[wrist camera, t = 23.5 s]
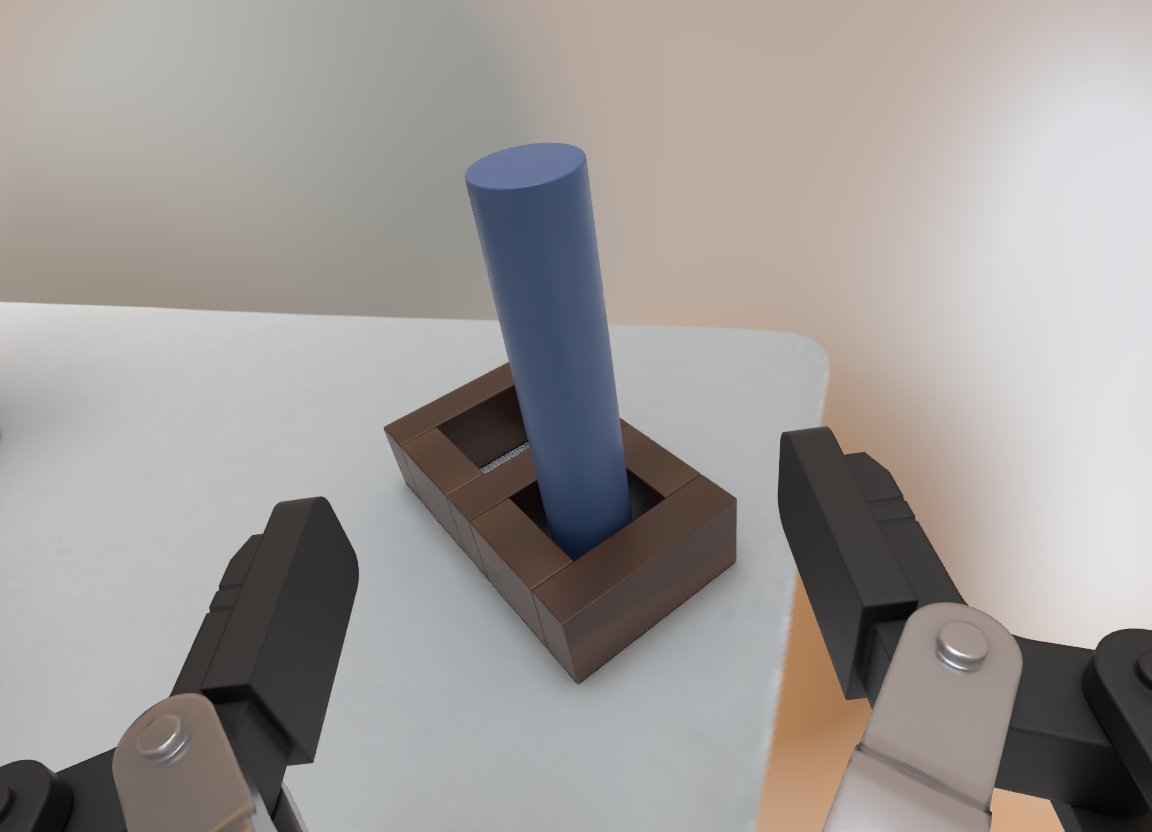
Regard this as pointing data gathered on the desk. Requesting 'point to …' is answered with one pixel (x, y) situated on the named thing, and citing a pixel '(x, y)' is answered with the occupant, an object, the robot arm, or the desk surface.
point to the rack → (521, 533)
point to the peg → (555, 333)
